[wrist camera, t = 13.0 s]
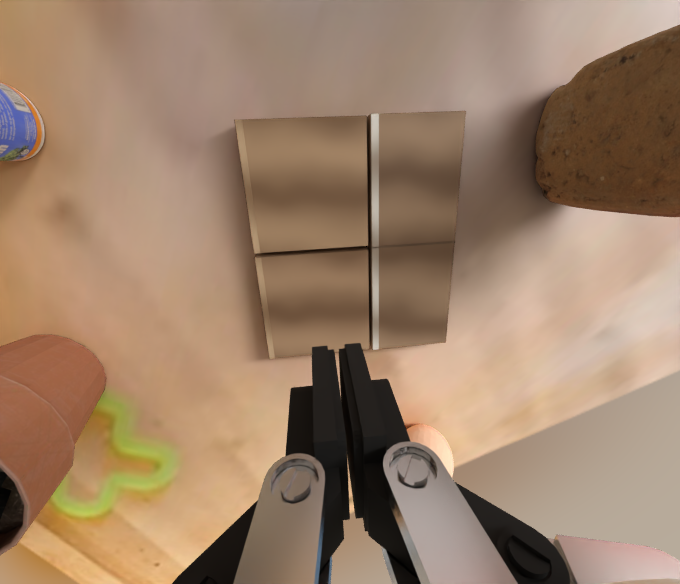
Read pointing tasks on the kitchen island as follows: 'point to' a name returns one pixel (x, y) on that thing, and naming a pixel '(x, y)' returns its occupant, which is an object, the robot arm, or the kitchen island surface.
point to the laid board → (411, 224)
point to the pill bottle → (19, 126)
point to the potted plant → (40, 423)
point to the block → (616, 132)
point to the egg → (433, 443)
